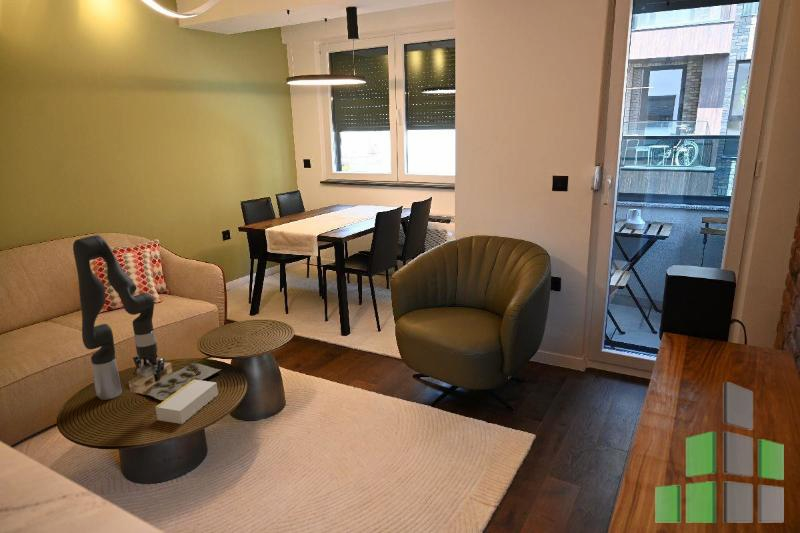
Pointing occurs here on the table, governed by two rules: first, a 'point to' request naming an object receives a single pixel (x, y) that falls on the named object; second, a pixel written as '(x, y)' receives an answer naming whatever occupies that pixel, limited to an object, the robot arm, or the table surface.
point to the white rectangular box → (186, 401)
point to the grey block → (145, 371)
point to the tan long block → (148, 380)
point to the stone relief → (180, 380)
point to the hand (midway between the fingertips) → (152, 380)
